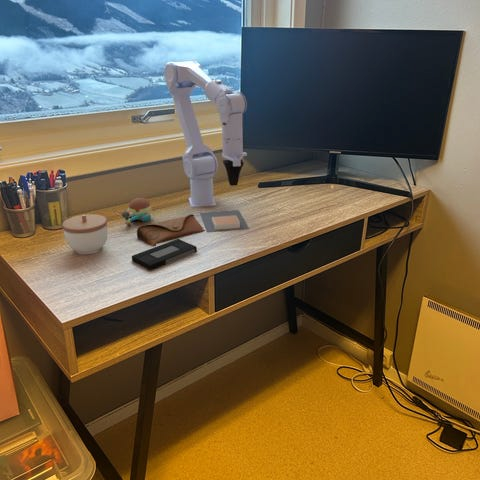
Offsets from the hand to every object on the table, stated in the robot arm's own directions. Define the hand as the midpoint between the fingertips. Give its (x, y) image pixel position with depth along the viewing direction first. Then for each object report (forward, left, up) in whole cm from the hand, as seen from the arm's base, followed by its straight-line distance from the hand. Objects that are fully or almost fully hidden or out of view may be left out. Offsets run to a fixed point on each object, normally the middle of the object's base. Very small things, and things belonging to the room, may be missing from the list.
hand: (233, 184), depth 140 cm
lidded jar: (+15, -41, -10) cm, 45 cm away
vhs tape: (+24, -22, -11) cm, 34 cm away
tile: (+4, -4, -9) cm, 10 cm away
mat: (+3, -4, -10) cm, 11 cm away
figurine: (-3, -29, -10) cm, 31 cm away
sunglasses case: (+10, -19, -11) cm, 24 cm away
